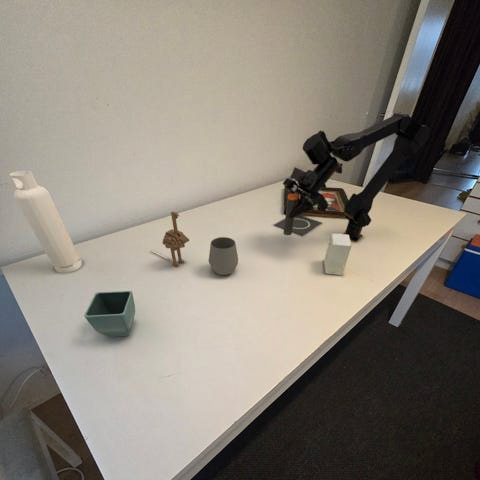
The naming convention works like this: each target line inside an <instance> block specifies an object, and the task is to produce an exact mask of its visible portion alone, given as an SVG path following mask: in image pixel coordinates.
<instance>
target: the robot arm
mask: <svg viewBox="0 0 480 480" xmlns="http://www.w3.org/2000/svg"><path fill="white" fill-rule="evenodd" d="M392 135H395V136H396V137H395V139H394V143H393V147H392V150H391V152H390V153H389V155H388V156H387V158H385V160H384V161H383V163H382V164H381V166H380V167H379V168H378V169H377V171H376V172H375V174H373V176H372V177H371V178H370V180H369V181H368V182H367V184H366V186H365V187H364V188H363V189H362V191H360V192H359V193H357V194H356V193H355V192H354V193H352V194H351V196H350V197H349V198H348V201H347V202H346V206H345V207H344V213H345V218H344V219H346V220H348V221H347V224H346V228H345V231H344V233H342V234H346V235H349V238H350V241H352V242H358V241H359V240H360V239H361V238H363V234H361V233H362V232H363V231H362V230H363V228H366V226H369V225H370V224H371V222H372V218H371V217H370V215H369V213H370V211H371V210H372V208H373V204H374V203H373V202H374V199H375V198H376V197H377V196H378V194H379V193H380V191H382V189H383V188H384V186H385V185H386V184H387V183H388V181H389V180H390V179H391V178H392V177H393V175H394V174H395V173H396V172H397V170H398V168H400V166H401V165H402V164H403V163H404V161H405V160H406V159H407V158H409V157H410V156H412V155H414V154H415V153H417V152H418V151H419V150H420V149H421V148H422V147H423V146H424V144H425V143H426V142H427V141H428V139H429V137H430V136H429V135H430V128H429V126H428V125H423V124H421V123H420V122H418V121H416V120H415V119H414V118H412V117H411V116H410V115H409V114H407V113H402V112H396V113H394V114H392V115H391V116H390V117H387V118H386V119H384V120H381V121H379V122H377V123H376V124H373V125H371V126H369V127H367V128H365V129H363V130H361V131H358V132H352V133H346V134H342V135H339V136H338V137H336V138H335V139H334V140H331V141H329V139H328V137H327V135H326V132H325V131H324V130H319V131H317V133H315V134H313V135H311V136H309V137H308V138H306V140H305V141H304V143H303V145H302V150H303V152H304V154H305V156H306V157H307V158H308V160H309V161H310V163H311V164H312V165H313V166H315V165H316V166H315V167H314V168H313V170H312V169H308V170H306V171H304V170H302V169H300V168H298V167H294V168H293V170H292V172H291V174H290V177H288V178H285V180H284V181H283V182H282V185H283V186H285V187H286V189H287V190H288V191H289V194H291V193H293V194H297V195H298V199H297V204H296V207H295V208H294V209H293V211H292V212H291V213H290V215H289V218H290V219H291V218H293V217H295V216H297V215H302V214H301V213H304V212H306V211H309V210H311V209H312V210H314V208H313V207H314V206H315V205H316V204H317V205H318V206H317V209H318V210H319V211H321V212H324V211H325V210H326V209H327V207H328V202H327V201H326V199H325V198H324V196H323V195H322V194H320V193H318V192H319V190H320V189H321V188H323V189H325V188H326V187H327V185H326V183H327V182H328V181H329V180H330V179H331V177H332V176H333V175H335V173H337V174H340V175H341V174H342V173H343V163H341V162H339V161H338V160H341V161H343V162H351V161H352V160H354V159H355V158H356V157H358V156H359V155H360V154H361V153H362V152H363V151H364V149H366V148H368V147H370V146H371V145H374V144H376V143H377V142H380V141H382V140H384V139H386V138H388V137H390V136H392ZM299 185H300V187H299ZM302 192H303V193H302ZM299 198H300V199H299ZM286 209H287V205H286V207H285V210H284V209H283V212H282V213H283V215H284V216H286Z"/></svg>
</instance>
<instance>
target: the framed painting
mask: <svg viewBox="0 0 480 480" xmlns="http://www.w3.org/2000/svg"><path fill="white" fill-rule="evenodd" d="M283 186H284V185H283ZM299 187H300V185H299ZM302 193H303V192H302ZM318 193H320V194H322V195H323V196H324V198H325V199H326V201H327V202H328V207H327V209H326V210H325V211H324V212H321V211H319V210H318V209H317V206H318V205H317V204H316V205H315V206H314V207H313V208H314V210H312V209H311V210H309V211H306V212H304V213H301V214H300V215H301V216H303V215H304V216H316V217H329V218H331V217H332V218H343V219H346V218H345V213H344V207H345V206H346V202H347V201H348V200H349V197H348V195H347V193H346V191H345V189H344V188H342V187H330V186H329V187H328V186H326V188H325V189H323V188H321V189H320V190H319V192H318ZM288 194H289V191H288V190H287V189H286V187H285V186H284V188H283V211H284V210H285V207H286V205H287V201H288ZM299 199H300V198H299Z"/></svg>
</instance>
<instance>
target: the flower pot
mask: <svg viewBox="0 0 480 480" xmlns="http://www.w3.org/2000/svg"><path fill="white" fill-rule="evenodd" d="M135 316H136V304H135V298H134V295H133V291H132V290H119V291H98V292H95V293H94V295H93V297H92V299H91V301H90V303H89V305H88V306H87V309H86V311H85V313H84V315H83V317H84V318H85V320H86V321H87V322H88V323H89V325H90V326H91V327H92V328H93V329H94V330H95V331H96V332H97V333H98V334H101V335H102V336H105V337H107V338H108V337H109V338H112V337H113V338H114V337H128V336H130V334H131V331H132V328H133V327H132V326H133V324H134V320H135Z"/></svg>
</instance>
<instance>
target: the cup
mask: <svg viewBox="0 0 480 480" xmlns="http://www.w3.org/2000/svg"><path fill="white" fill-rule="evenodd" d="M209 246H210V247H209V253H208V263H209V265H210V267H211V269H212V270H213V272H214V273H215V274H217V275H219V276H228V275H230V274H232V273H233V272H234V271H235V269H236V268H237V266H238V264H239V255H238V251H237V249H238V248H237V244H236V241H235V239H233V238H230V237H227V236H220V237H216V238H213V239H212V240H211V241H210V245H209Z"/></svg>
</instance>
